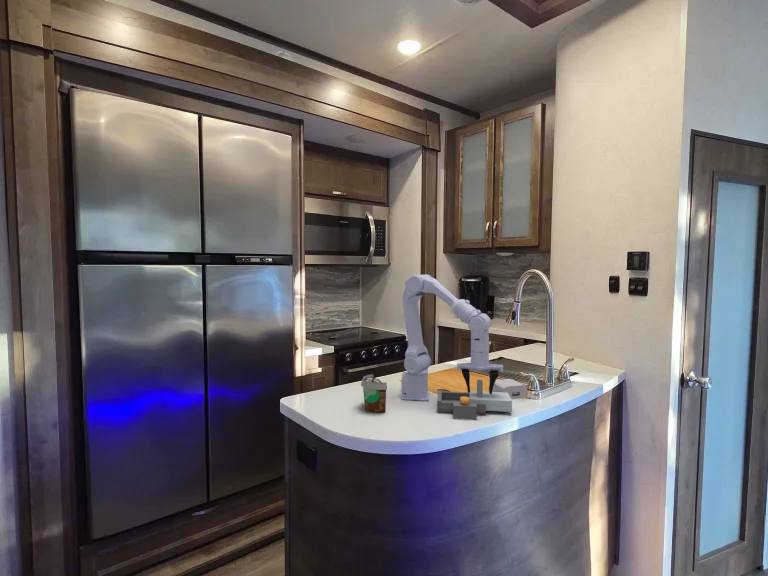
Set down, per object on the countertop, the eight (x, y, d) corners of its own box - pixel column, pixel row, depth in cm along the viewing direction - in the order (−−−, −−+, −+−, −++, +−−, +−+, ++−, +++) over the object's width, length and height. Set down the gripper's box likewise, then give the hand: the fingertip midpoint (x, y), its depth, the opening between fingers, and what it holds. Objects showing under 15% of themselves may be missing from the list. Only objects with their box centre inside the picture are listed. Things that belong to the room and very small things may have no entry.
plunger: (460, 404, 120) (460, 398, 120) (460, 401, 123) (460, 396, 122) (469, 404, 119) (469, 399, 119) (469, 401, 122) (469, 396, 122)
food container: (355, 404, 133) (355, 375, 132) (372, 402, 135) (372, 373, 135) (369, 417, 121) (368, 385, 121) (387, 414, 124) (387, 382, 123)
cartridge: (469, 409, 124) (470, 384, 124) (468, 400, 133) (468, 377, 133) (511, 411, 122) (512, 386, 122) (507, 402, 131) (508, 379, 130)
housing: (436, 417, 121) (436, 404, 120) (438, 400, 136) (438, 389, 136) (487, 420, 118) (487, 407, 118) (482, 403, 134) (482, 391, 134)
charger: (504, 386, 154) (527, 398, 140) (483, 388, 152) (504, 400, 138) (504, 374, 154) (527, 384, 140) (483, 376, 152) (504, 386, 137)
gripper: (457, 353, 125) (457, 395, 125) (504, 354, 122) (504, 397, 123) (457, 348, 132) (456, 388, 132) (501, 350, 129) (501, 390, 130)
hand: (479, 392), depth 128 cm, fingers open, 6 cm apart
